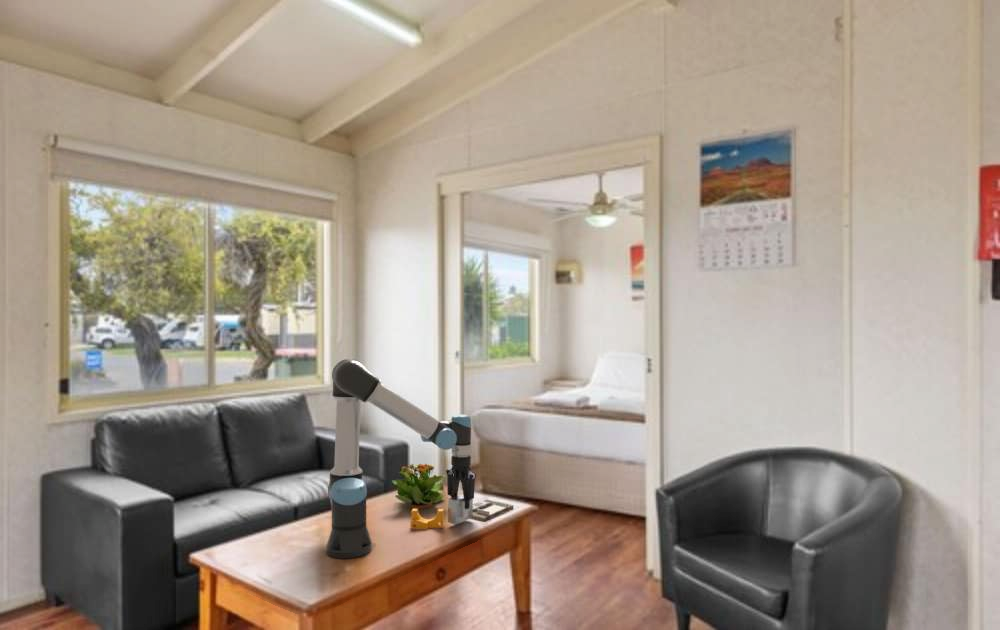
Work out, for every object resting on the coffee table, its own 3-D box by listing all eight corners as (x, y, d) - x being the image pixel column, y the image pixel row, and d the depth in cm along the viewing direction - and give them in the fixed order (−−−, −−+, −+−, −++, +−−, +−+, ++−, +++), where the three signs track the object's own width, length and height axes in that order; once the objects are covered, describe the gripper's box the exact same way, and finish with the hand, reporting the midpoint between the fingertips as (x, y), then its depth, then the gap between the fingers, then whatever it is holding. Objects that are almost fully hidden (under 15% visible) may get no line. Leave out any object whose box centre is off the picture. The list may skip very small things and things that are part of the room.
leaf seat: (488, 515, 242) (488, 511, 242) (476, 512, 246) (476, 509, 246) (507, 507, 252) (507, 503, 253) (496, 504, 256) (496, 501, 256)
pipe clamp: (410, 529, 231) (410, 512, 231) (412, 525, 235) (412, 508, 235) (442, 529, 230) (441, 512, 230) (443, 525, 235) (443, 509, 235)
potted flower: (452, 512, 250) (452, 469, 250) (394, 517, 244) (394, 474, 244) (442, 495, 274) (441, 456, 274) (388, 500, 268) (388, 460, 268)
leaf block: (455, 524, 231) (456, 500, 231) (447, 522, 233) (448, 498, 234) (472, 517, 239) (472, 494, 239) (464, 515, 241) (464, 492, 242)
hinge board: (484, 521, 239) (484, 515, 239) (456, 514, 247) (456, 509, 247) (513, 508, 255) (513, 502, 255) (486, 502, 263) (486, 497, 263)
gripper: (438, 453, 239) (437, 513, 238) (472, 459, 228) (471, 522, 228) (450, 450, 245) (450, 509, 244) (484, 456, 235) (483, 517, 234)
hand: (460, 515), depth 236 cm, fingers closed on leaf block, 4 cm apart
